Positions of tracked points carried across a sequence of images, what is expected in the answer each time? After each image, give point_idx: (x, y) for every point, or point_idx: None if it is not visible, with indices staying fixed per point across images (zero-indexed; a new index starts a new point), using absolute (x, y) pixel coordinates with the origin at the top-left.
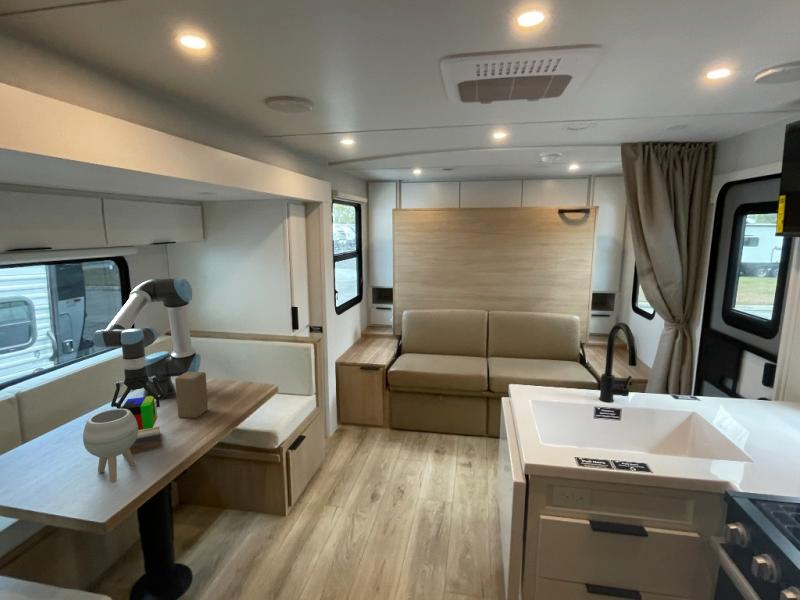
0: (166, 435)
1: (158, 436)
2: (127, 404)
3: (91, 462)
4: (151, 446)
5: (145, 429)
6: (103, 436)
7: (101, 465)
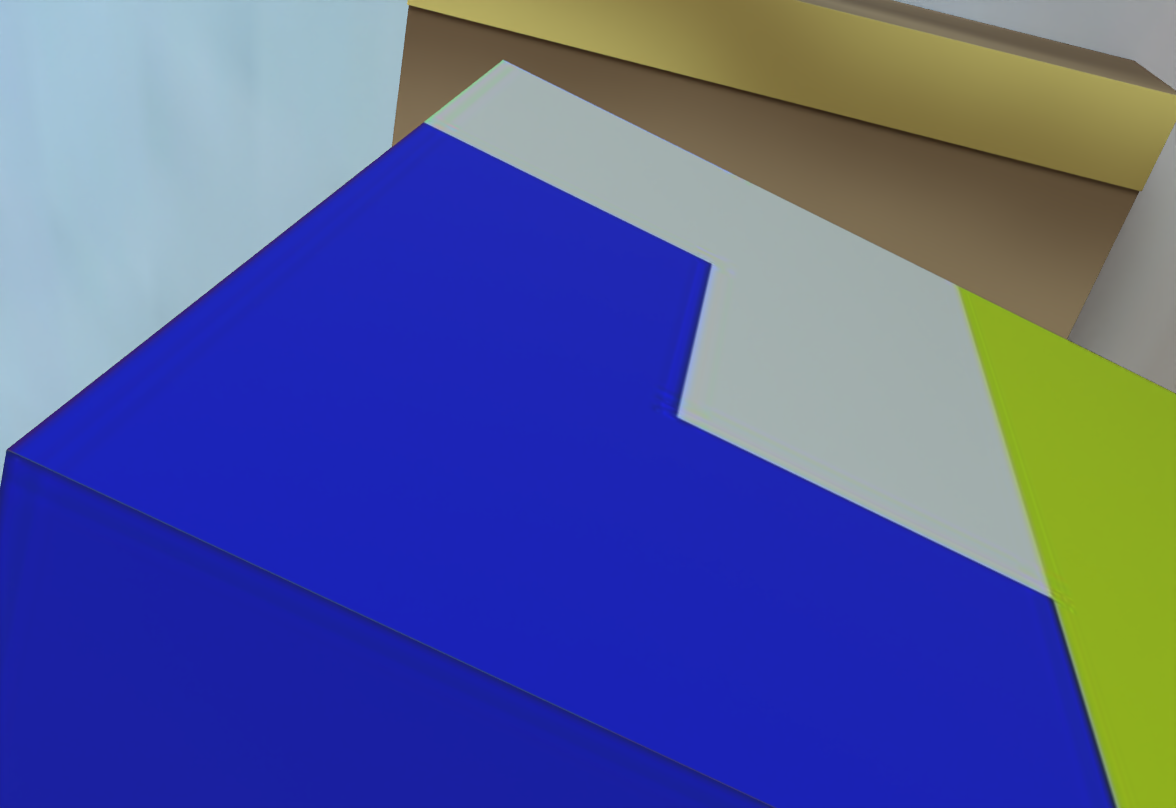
0: (1134, 319)
1: None
2: None
3: (14, 370)
4: None
5: (851, 87)
6: None
7: None
